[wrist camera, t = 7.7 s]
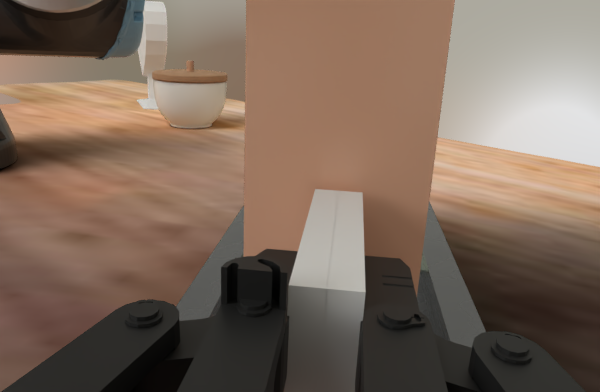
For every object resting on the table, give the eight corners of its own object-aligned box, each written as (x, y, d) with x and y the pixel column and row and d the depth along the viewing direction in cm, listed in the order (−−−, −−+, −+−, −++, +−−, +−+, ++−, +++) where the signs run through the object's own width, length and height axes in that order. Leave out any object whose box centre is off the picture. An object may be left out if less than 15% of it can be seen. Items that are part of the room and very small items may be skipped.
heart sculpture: (174, 109, 90) (171, 1, 84) (144, 110, 88) (139, -1, 82) (161, 98, 103) (157, 4, 98) (135, 98, 101) (130, 2, 96)
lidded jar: (194, 117, 84) (193, 58, 81) (242, 126, 77) (242, 62, 75) (139, 124, 75) (135, 58, 73) (187, 135, 69) (185, 64, 66)
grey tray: (532, 541, 15) (548, 475, 14) (105, 486, 16) (99, 422, 15) (419, 217, 41) (423, 188, 41) (262, 205, 43) (263, 176, 42)
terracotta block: (402, 406, 19) (454, -3, 14) (241, 388, 19) (246, -11, 15) (392, 319, 24) (427, 8, 20) (268, 307, 25) (276, 2, 21)
